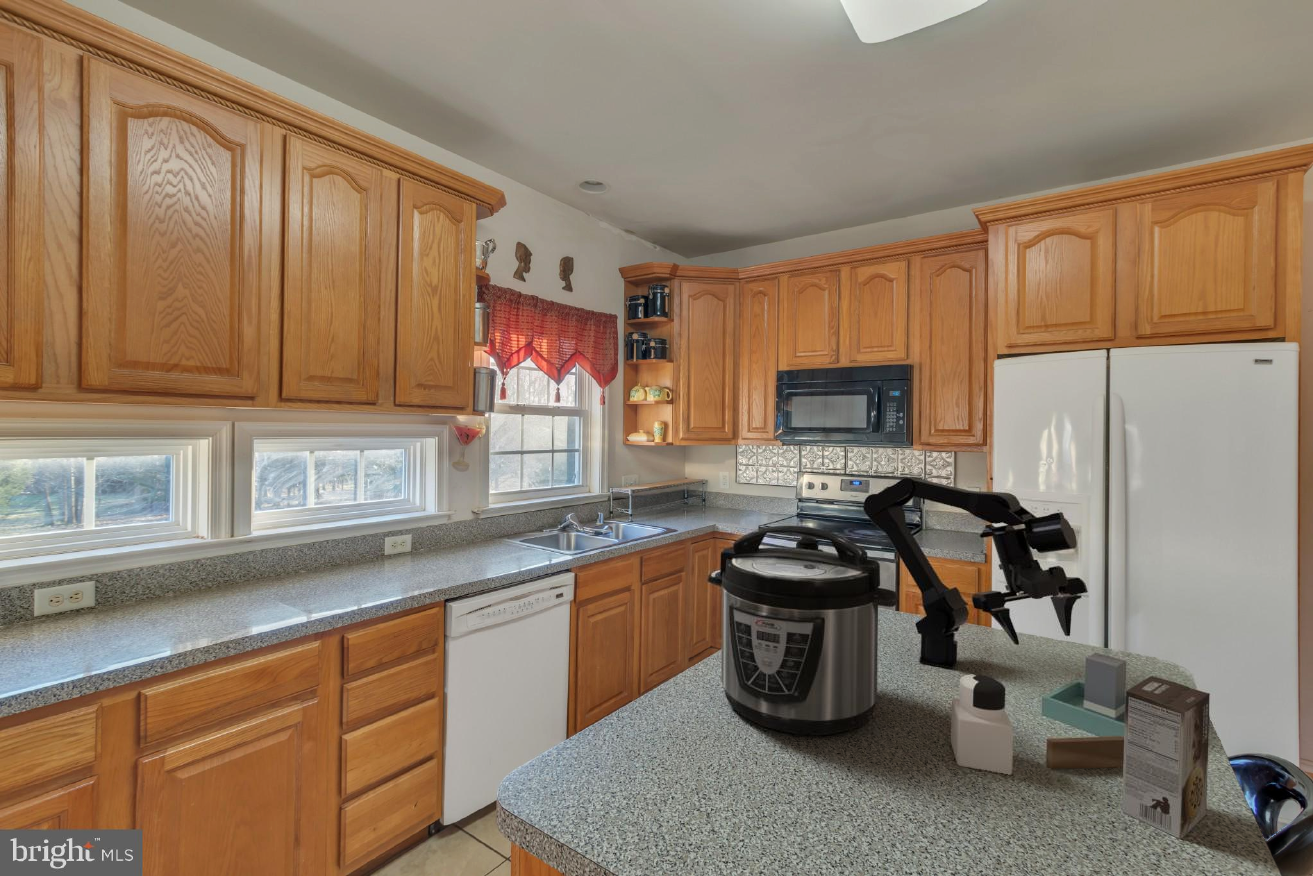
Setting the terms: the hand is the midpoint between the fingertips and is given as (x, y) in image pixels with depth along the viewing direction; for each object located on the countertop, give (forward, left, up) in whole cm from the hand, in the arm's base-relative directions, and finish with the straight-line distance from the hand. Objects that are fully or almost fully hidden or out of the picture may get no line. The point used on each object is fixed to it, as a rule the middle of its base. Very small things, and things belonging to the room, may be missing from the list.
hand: (1042, 640), depth 111 cm
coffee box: (+12, -33, -11) cm, 37 cm away
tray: (+9, -6, -10) cm, 15 cm away
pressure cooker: (-38, -29, -11) cm, 49 cm away
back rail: (+4, -25, -10) cm, 27 cm away
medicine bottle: (-9, -31, -11) cm, 34 cm away
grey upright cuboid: (+9, -6, -10) cm, 14 cm away
